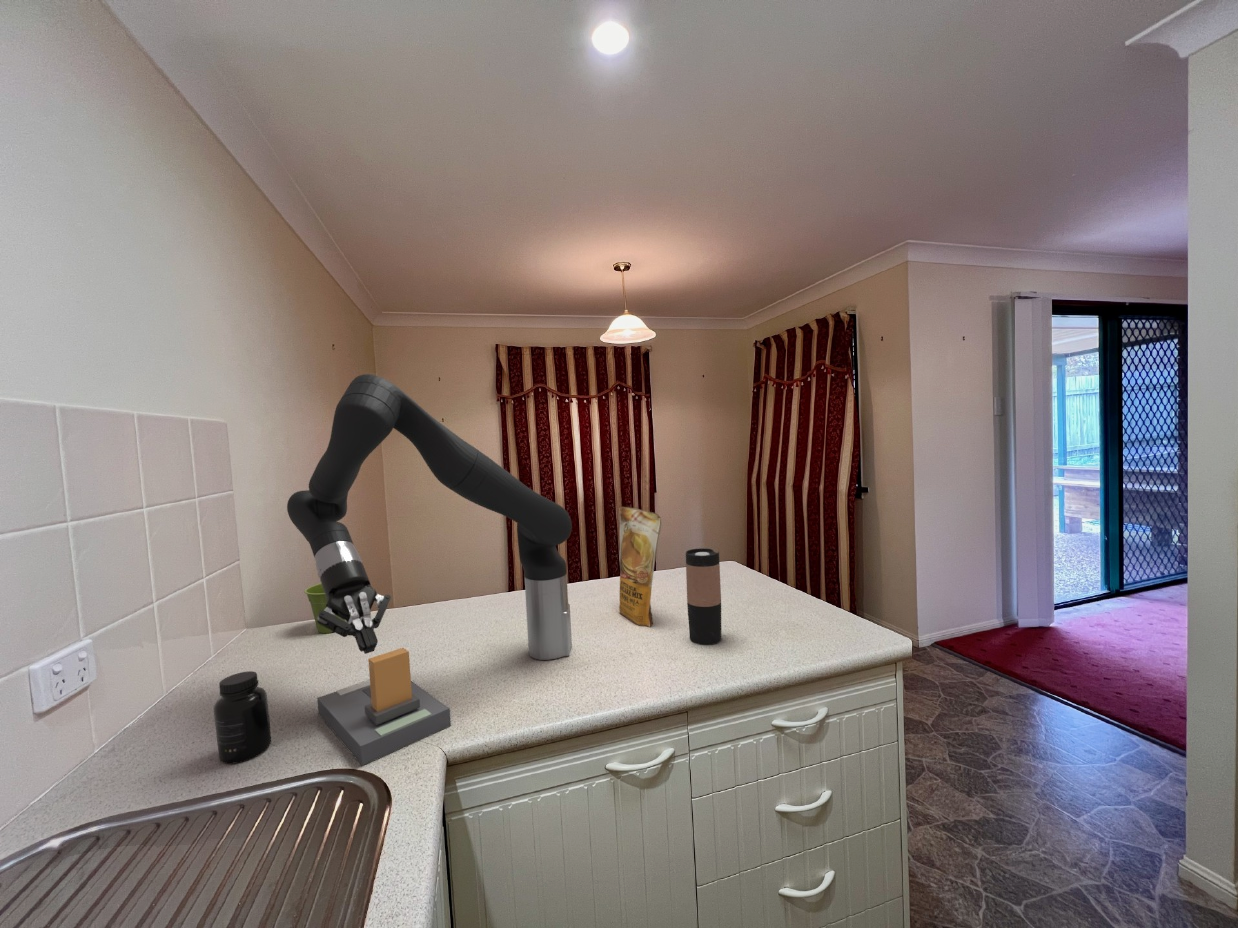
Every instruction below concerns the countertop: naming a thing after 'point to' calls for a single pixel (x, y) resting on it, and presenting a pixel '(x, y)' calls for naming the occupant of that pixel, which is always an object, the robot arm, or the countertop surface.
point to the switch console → (379, 740)
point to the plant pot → (318, 604)
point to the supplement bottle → (241, 718)
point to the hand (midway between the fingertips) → (370, 650)
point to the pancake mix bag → (637, 562)
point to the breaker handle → (390, 686)
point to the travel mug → (703, 596)
